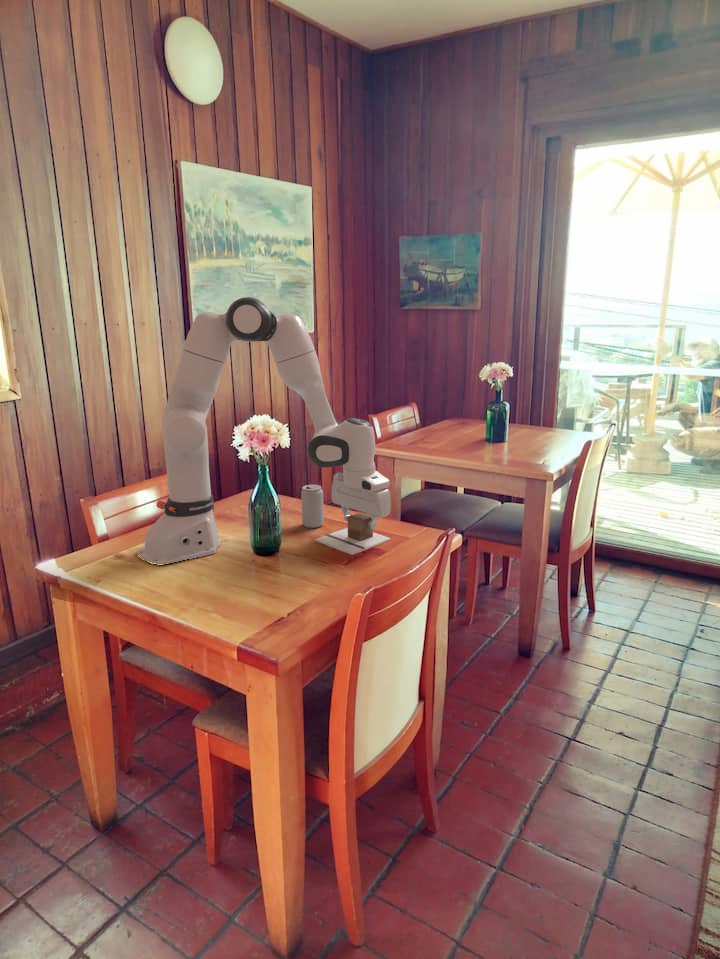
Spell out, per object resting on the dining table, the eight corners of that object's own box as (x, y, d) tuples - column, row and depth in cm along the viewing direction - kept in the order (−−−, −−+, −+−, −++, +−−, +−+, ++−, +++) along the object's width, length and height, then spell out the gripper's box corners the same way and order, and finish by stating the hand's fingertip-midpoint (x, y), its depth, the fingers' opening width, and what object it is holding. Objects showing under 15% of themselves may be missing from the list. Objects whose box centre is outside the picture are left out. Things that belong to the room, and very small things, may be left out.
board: (352, 555, 174) (352, 552, 174) (315, 540, 184) (315, 538, 184) (390, 539, 184) (390, 537, 184) (353, 527, 194) (353, 525, 194)
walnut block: (360, 541, 182) (359, 521, 180) (347, 536, 185) (347, 516, 184) (372, 536, 185) (372, 516, 184) (360, 532, 189) (360, 512, 187)
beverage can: (299, 523, 198) (297, 485, 195) (319, 520, 200) (318, 482, 197) (306, 530, 192) (305, 491, 189) (327, 526, 195) (326, 488, 192)
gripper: (325, 472, 185) (326, 519, 189) (378, 487, 171) (378, 536, 175) (341, 468, 190) (342, 513, 194) (394, 482, 176) (394, 530, 180)
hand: (360, 524), depth 184 cm, fingers open, 8 cm apart
